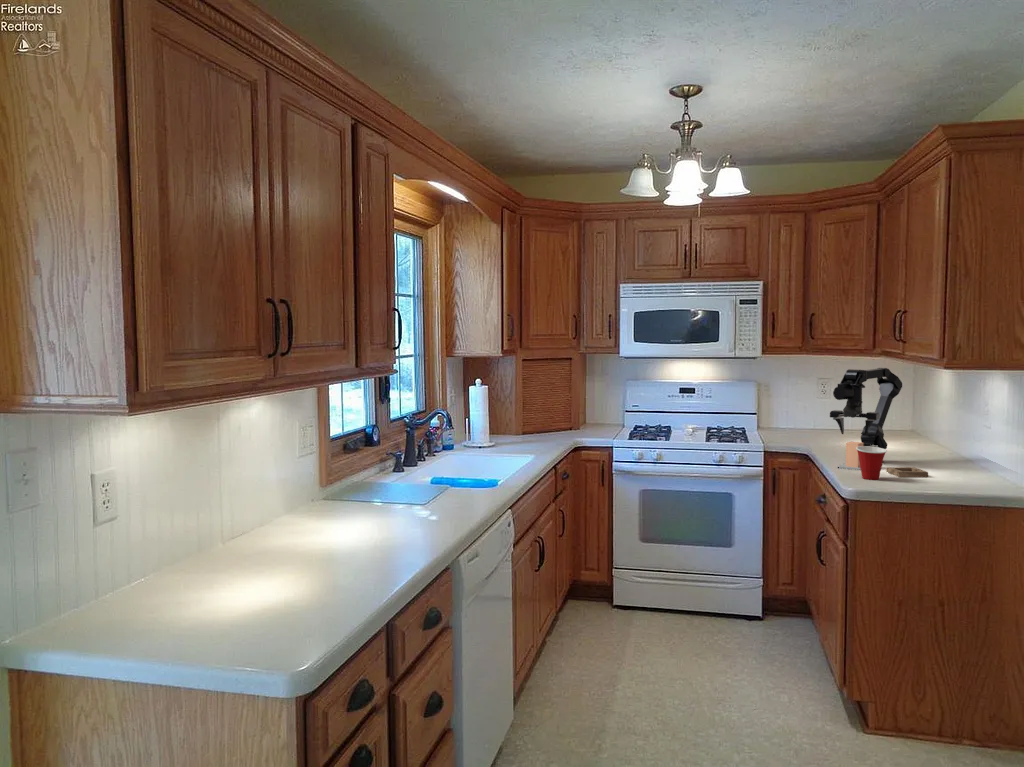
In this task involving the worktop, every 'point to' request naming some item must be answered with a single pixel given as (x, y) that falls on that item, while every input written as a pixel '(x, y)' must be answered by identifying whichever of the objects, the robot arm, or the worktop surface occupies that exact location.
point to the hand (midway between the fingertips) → (854, 435)
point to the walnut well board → (907, 472)
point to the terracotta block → (852, 454)
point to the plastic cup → (870, 461)
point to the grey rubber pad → (848, 467)
